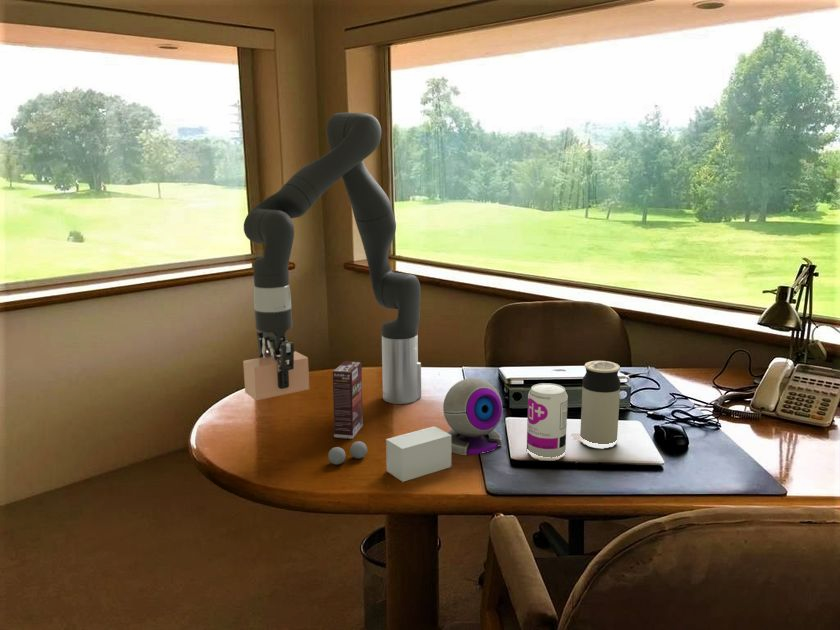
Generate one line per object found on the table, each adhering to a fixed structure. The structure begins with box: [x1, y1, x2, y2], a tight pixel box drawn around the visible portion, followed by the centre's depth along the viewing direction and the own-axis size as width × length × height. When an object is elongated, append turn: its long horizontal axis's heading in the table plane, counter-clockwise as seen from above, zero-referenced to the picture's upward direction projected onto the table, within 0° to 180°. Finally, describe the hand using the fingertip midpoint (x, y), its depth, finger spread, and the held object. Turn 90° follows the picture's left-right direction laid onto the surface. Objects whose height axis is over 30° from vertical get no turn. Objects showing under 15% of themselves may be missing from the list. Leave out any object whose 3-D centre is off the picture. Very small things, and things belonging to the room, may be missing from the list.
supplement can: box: [526, 382, 569, 458], centre depth 155 cm, size 8×8×15 cm
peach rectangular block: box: [242, 350, 310, 401], centre depth 155 cm, size 12×6×7 cm, turn 124°
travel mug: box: [579, 360, 621, 444], centre depth 161 cm, size 8×8×18 cm
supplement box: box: [332, 360, 364, 440], centre depth 169 cm, size 9×5×16 cm, turn 168°
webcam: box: [442, 377, 503, 456], centre depth 162 cm, size 13×13×15 cm
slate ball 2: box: [349, 440, 368, 459], centre depth 156 cm, size 4×4×4 cm
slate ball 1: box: [327, 446, 346, 466], centre depth 153 cm, size 4×4×4 cm
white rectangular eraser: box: [385, 426, 452, 483], centre depth 150 cm, size 12×6×7 cm, turn 124°
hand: (277, 383), depth 156 cm, fingers closed on peach rectangular block, 6 cm apart
